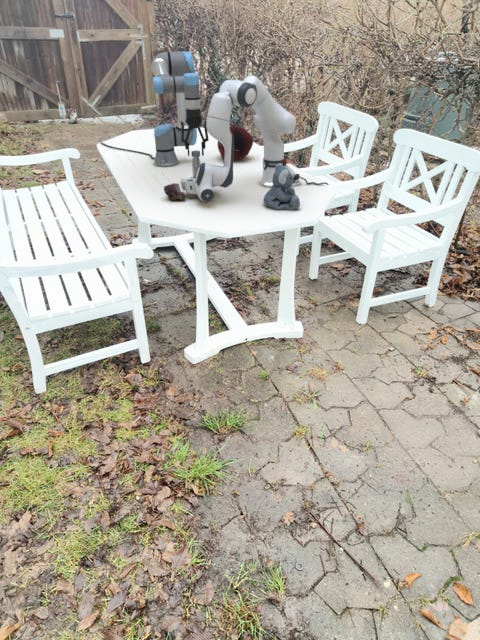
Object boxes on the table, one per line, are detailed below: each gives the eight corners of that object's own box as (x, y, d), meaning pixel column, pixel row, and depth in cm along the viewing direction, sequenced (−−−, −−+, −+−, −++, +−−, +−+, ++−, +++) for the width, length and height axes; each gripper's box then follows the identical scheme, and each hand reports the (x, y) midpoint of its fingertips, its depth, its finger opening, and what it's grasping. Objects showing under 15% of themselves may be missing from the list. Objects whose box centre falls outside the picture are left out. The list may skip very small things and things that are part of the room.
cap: (189, 155, 240) (189, 151, 238) (196, 154, 242) (196, 150, 241) (194, 157, 237) (194, 153, 235) (201, 156, 239) (201, 151, 238)
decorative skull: (214, 132, 306) (214, 129, 283) (248, 124, 306) (250, 120, 282) (221, 164, 313) (221, 164, 290) (254, 156, 312) (257, 156, 289)
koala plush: (301, 210, 223) (303, 170, 212) (265, 211, 222) (266, 171, 211) (294, 198, 237) (297, 160, 226) (261, 199, 236) (261, 161, 225)
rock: (179, 196, 245) (162, 199, 241) (177, 180, 241) (160, 182, 237) (187, 199, 235) (169, 202, 231) (185, 182, 232) (167, 185, 228)
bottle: (203, 190, 249) (201, 153, 238) (196, 192, 247) (194, 154, 236) (199, 188, 253) (197, 151, 241) (192, 190, 250) (189, 152, 239)
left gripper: (211, 106, 230) (213, 152, 243) (173, 107, 228) (177, 154, 241) (213, 109, 224) (215, 156, 237) (173, 110, 222) (177, 158, 235)
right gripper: (220, 178, 236) (215, 170, 247) (182, 181, 232) (178, 173, 243) (221, 190, 240) (215, 182, 251) (183, 193, 236) (179, 185, 247)
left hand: (195, 155), depth 239 cm, fingers open, 7 cm apart
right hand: (196, 178), depth 247 cm, fingers closed on bottle, 5 cm apart
